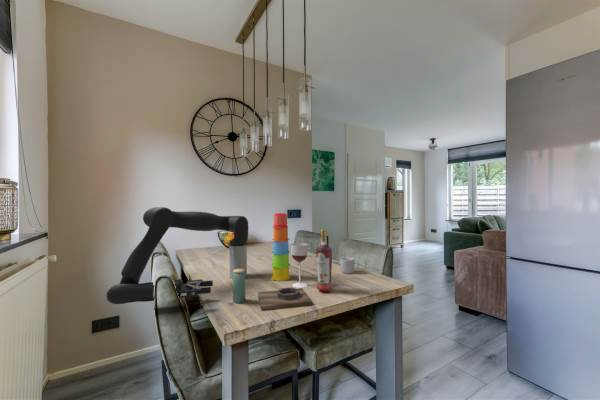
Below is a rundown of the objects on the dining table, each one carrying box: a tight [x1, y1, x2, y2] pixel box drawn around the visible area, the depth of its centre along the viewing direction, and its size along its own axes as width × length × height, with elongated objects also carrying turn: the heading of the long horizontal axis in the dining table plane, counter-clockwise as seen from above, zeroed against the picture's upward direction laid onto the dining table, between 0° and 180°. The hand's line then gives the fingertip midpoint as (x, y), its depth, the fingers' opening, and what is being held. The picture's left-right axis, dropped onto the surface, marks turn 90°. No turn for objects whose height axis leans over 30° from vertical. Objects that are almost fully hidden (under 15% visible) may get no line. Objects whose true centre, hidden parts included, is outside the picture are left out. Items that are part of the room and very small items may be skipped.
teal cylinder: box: [232, 269, 246, 304], centre depth 111 cm, size 5×5×13 cm
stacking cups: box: [270, 212, 291, 282], centre depth 142 cm, size 10×10×35 cm
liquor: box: [315, 228, 333, 294], centre depth 122 cm, size 7×7×28 cm
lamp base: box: [257, 287, 313, 311], centre depth 111 cm, size 16×20×4 cm
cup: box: [339, 256, 360, 275], centre depth 150 cm, size 11×8×8 cm
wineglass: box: [290, 242, 309, 289], centre depth 130 cm, size 8×9×20 cm
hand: (211, 286), depth 108 cm, fingers open, 8 cm apart
